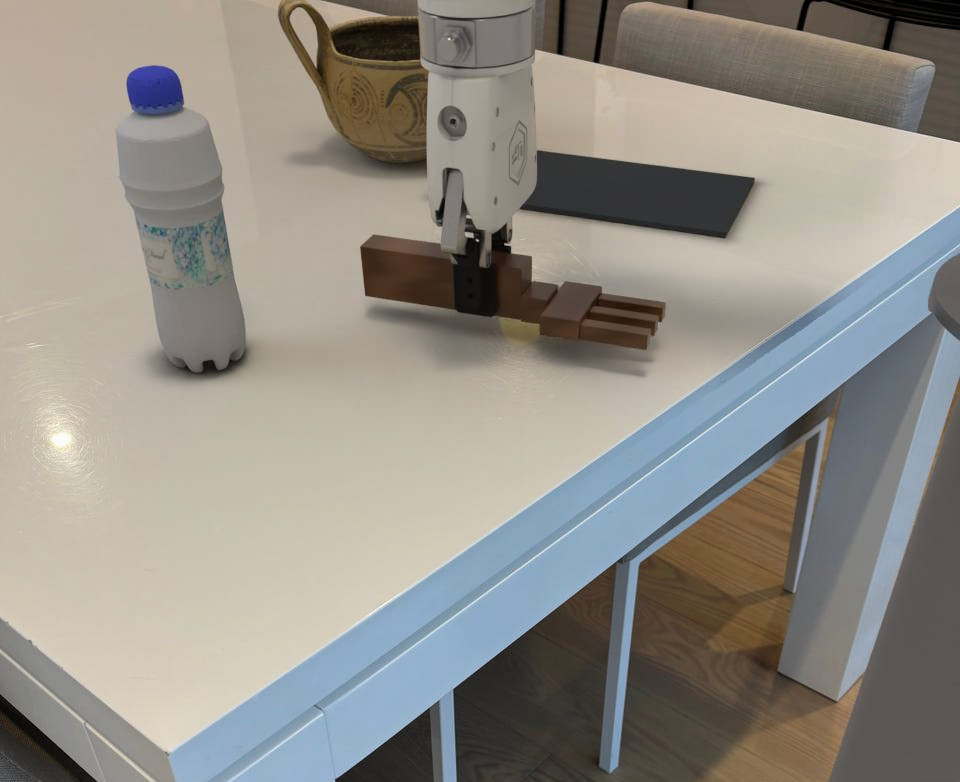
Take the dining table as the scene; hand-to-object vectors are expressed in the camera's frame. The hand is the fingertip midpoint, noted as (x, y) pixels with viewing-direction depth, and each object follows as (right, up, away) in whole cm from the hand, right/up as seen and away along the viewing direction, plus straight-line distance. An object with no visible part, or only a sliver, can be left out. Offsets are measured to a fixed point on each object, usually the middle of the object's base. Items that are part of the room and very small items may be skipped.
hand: (483, 302), depth 82 cm
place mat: (+11, +18, +23) cm, 31 cm away
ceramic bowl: (-8, +25, +31) cm, 40 cm away
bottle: (-21, -5, -1) cm, 21 cm away
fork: (+1, -1, 0) cm, 2 cm away
